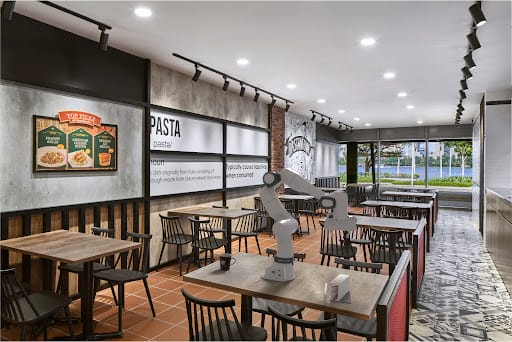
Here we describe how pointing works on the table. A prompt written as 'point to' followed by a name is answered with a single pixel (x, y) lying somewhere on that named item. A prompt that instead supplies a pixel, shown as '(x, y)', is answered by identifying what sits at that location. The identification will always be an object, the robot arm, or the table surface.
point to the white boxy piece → (340, 287)
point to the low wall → (325, 292)
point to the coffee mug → (225, 261)
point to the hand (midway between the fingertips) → (339, 237)
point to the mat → (345, 298)
